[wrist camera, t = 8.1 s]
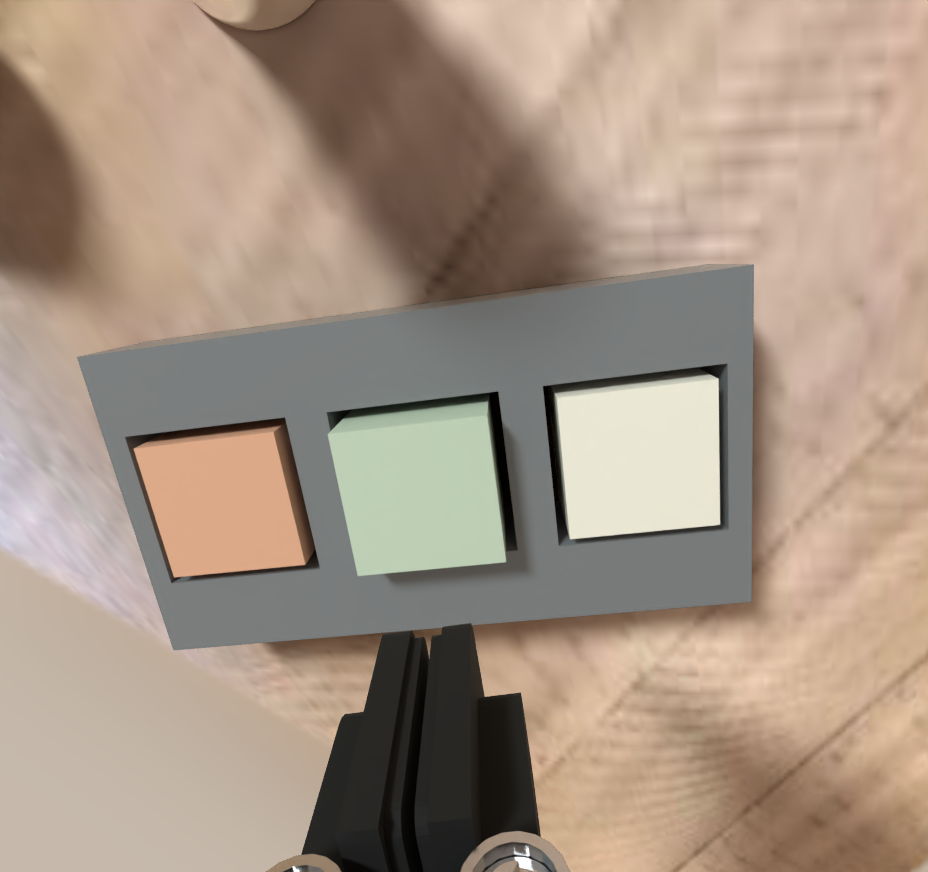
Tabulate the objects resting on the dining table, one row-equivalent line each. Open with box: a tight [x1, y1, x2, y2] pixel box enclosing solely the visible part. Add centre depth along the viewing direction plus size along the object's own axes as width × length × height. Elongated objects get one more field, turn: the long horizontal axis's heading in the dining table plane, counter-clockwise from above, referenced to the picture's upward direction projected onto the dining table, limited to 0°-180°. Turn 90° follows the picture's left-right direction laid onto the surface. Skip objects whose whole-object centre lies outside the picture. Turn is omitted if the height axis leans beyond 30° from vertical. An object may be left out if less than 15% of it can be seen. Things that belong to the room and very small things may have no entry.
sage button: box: [328, 392, 506, 576], centre depth 21 cm, size 5×5×4 cm
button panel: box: [77, 264, 754, 650], centre depth 22 cm, size 23×12×4 cm, turn 98°
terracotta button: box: [134, 417, 316, 577], centre depth 23 cm, size 5×5×4 cm
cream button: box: [548, 367, 720, 539], centre depth 21 cm, size 5×5×4 cm
